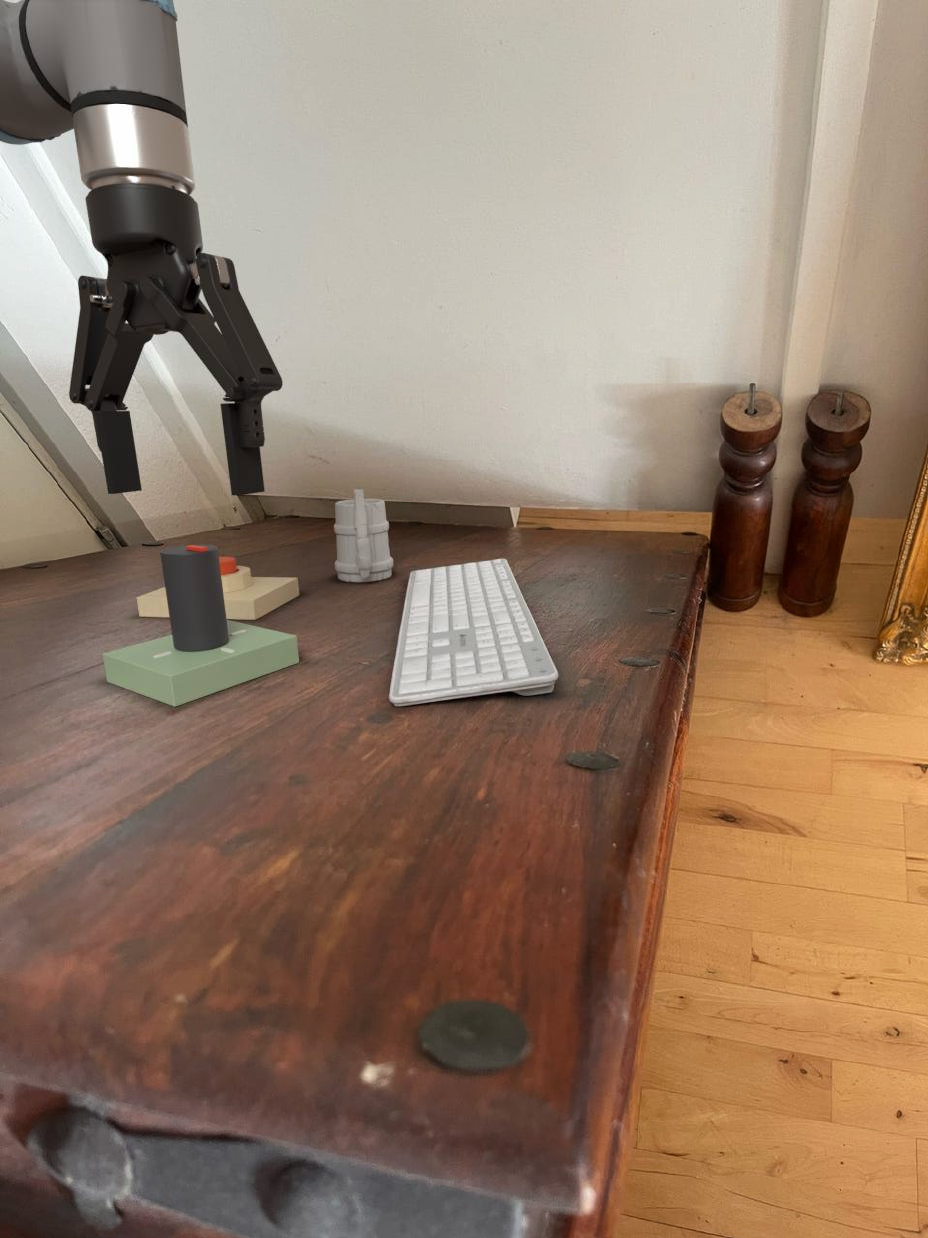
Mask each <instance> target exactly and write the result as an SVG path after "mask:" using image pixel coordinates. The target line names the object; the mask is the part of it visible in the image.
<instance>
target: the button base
mask: <svg viewBox="0 0 928 1238" xmlns="http://www.w3.org/2000/svg"><path fill="white" fill-rule="evenodd" d="M236 567H237V572H236V573H232V574H227V575H221V578H222V586H223V594H224V603H225V611H226V619H227V620H240V621H241V620H243V621H256V620H259V619H260V618H262V617H263V616H265V615H267V614H269V613H270V612H272V611H274V610H276V609H278V608H280V607H281V606H283V605H285V604H286V603H287V604H288V602H290V601H292V600H294V599H296V598H298V597H299V596H300V587H299V579H298V577H288V576H287V577H283V576H281V577H280V576H279V577H278V576H277V577H276V576H252V575H251V574H252V573H251V568H250V567H248V566H243V565H236ZM136 602H137V603H136V604H137V609H138V610H137V611H138V616H139V617H140V618H168V619H170V617H169V610H168V603H167V596H166V589H165V586H163V587H161V588H158V589H156V590H153V591H149V592H148V593H147V592H146V593H145V594H142V595H140V596H136Z"/></svg>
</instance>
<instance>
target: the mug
mask: <svg viewBox="0 0 928 1238" xmlns="http://www.w3.org/2000/svg"><path fill="white" fill-rule="evenodd" d="M364 494H365V490H364V489H359V488H358V489H356V488H355V489H353V499H344V500H340V501H336V502H335V503H334V515H335V516H334V517H335V523H333V524H334V525H333V532H334V533H335V536H336V537H335V539H336V541H335V542H336V560H335V561H334V569H335V571H336V572H337V578H338V579H339V580H340V581H343V582H347V583H370V582H377V581H382V580H386V579H388V578H391V577H392V573H393V572H392V569H393V567H394V558H393V557H392V556H391V552H390V546H389V543H390V542H389V541H390V540H389V533H388V532H389V529H390V523H389V521H388V520H387V513H386V503H385V500H383V499H380V498H365V495H364Z"/></svg>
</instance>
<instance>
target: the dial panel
mask: <svg viewBox="0 0 928 1238" xmlns="http://www.w3.org/2000/svg"><path fill="white" fill-rule="evenodd" d="M227 627H228V635H229V641H228V643H226V644H225V645H223V646H220V647H217V648H214V649H209V650H203V651H180V650H177V649H175V648H174V644H173V638H172V634H170V635H169V634H168V635H166V636H162V637H159V638H154V639H150V640H147V641H143V642H140V643H137V644H133V645H129V646H126V647H122V648H117V649H114V650H110V651H107V652H104V653H102V659H103V665H104V671H105V677H106V682H107V683H108V684H112V685H114V686H117V687H120V688H123V689H125V690H127V691H130V692H133V693H136V694H138V695H141V696H145V697H147V698H150V699H152V700H155V701H157V702H161V703H163V704H166V705H169V706H171V707H173V708H175V707H178V706H181V705H184V704H187V703H190V702H192V701H195V700H198V699H202V698H204V697H207V696H210V695H212V694H215V693H218V692H221V691H224V690H227V689H229V688H232V687H235V686H238V685H241V684H244V683H246V682H249V681H252V680H255V679H257V678H261V677H263V676H266V675H268V674H272V673H274V672H277V671H280V670H283V669H285V668H288V667H291V666H294V665H297V664H299V663H300V656H299V644H298V637H297V635H296V634H291V633H287V632H283V631H279V630H273V629H269V628H265V627H261V626H257V625H251V624H247V623H243V622H239V621H235V620H231V619H227Z"/></svg>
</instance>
